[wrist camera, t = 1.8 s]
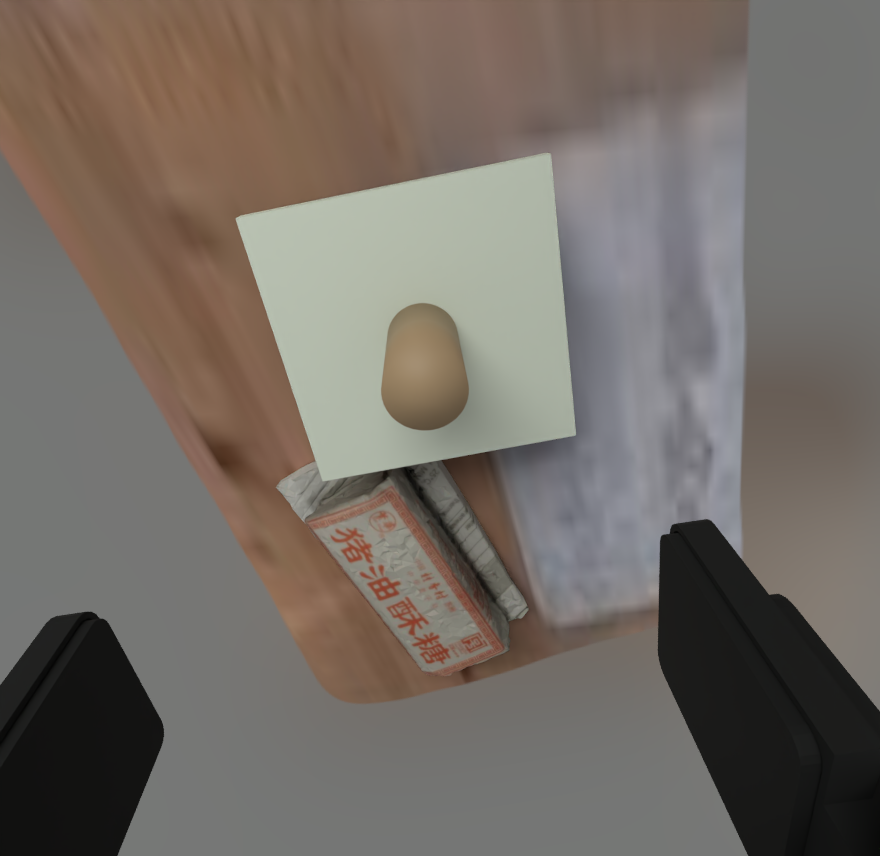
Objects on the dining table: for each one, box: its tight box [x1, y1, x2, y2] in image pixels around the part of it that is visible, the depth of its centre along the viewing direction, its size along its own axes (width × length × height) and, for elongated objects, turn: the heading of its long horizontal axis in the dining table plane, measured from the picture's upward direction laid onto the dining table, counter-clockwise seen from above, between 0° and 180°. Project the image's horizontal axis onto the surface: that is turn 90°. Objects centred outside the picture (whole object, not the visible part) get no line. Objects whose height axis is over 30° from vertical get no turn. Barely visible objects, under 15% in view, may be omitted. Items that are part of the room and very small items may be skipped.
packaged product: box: [276, 460, 529, 676], centre depth 39 cm, size 18×5×10 cm
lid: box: [236, 153, 576, 481], centre depth 25 cm, size 13×13×7 cm
